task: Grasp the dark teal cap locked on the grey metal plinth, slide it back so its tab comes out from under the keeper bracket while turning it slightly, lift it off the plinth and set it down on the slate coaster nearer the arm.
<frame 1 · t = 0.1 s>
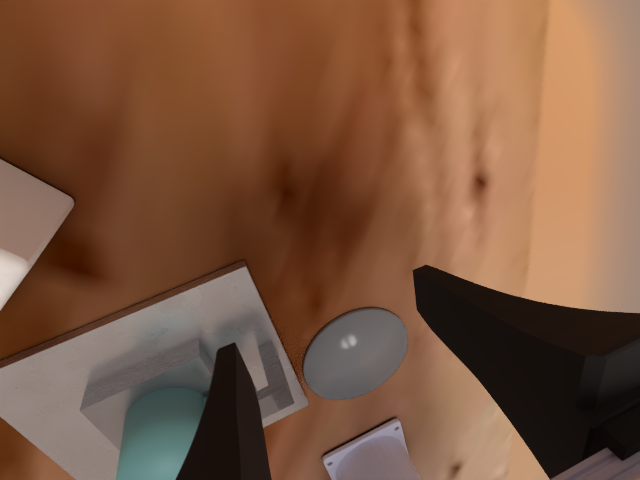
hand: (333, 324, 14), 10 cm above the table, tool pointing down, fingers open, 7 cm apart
coaster: (356, 354, 30), on the table
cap: (169, 418, 23), point 2 cm above the table, touching post base
post base: (170, 387, 25), on the table
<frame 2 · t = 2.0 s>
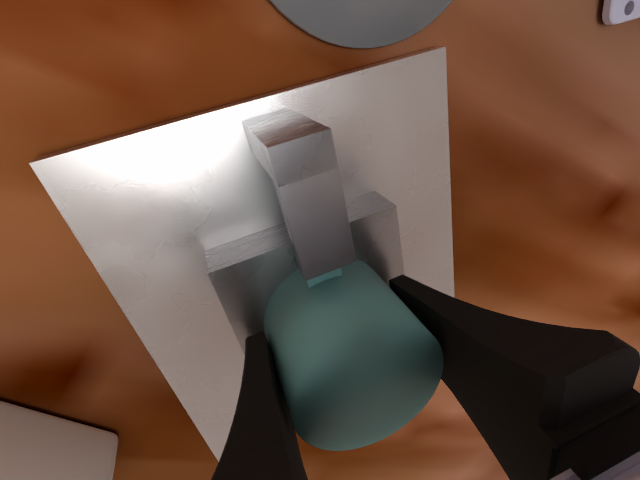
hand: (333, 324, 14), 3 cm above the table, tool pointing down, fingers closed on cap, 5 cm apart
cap: (326, 313, 15), point 3 cm above the table, touching gripper, post base
post base: (308, 280, 17), on the table
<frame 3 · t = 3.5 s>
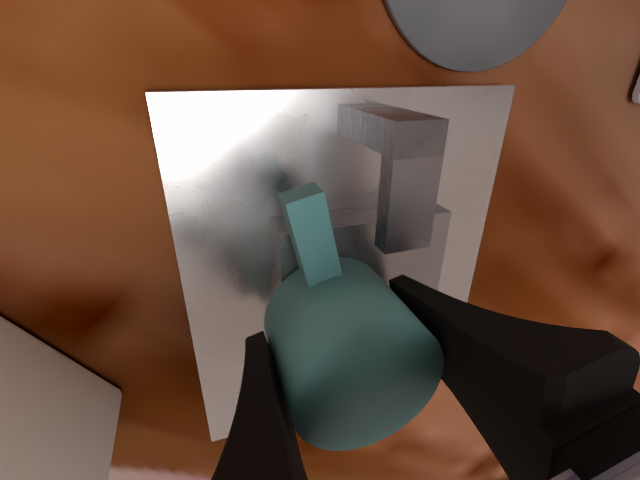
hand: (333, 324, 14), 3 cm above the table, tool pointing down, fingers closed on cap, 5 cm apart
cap: (327, 313, 15), point 3 cm above the table, touching gripper
post base: (343, 270, 17), on the table
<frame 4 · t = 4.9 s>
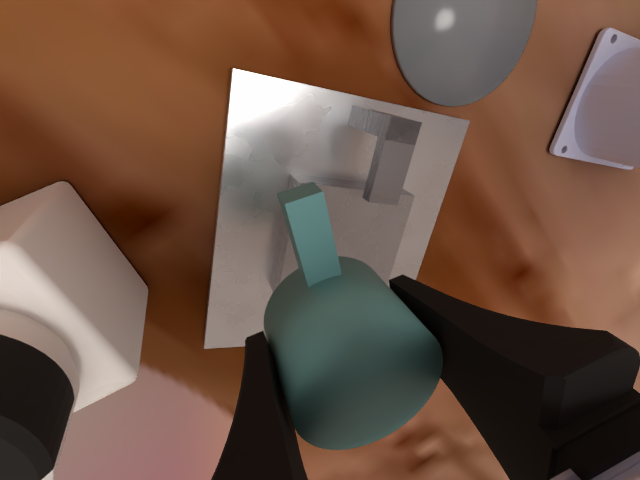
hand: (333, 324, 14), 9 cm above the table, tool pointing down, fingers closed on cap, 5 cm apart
coaster: (464, 18, 20), on the table
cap: (326, 312, 15), point 9 cm above the table, touching gripper
medicine bottle: (46, 266, 19), on the table
post base: (330, 231, 23), on the table
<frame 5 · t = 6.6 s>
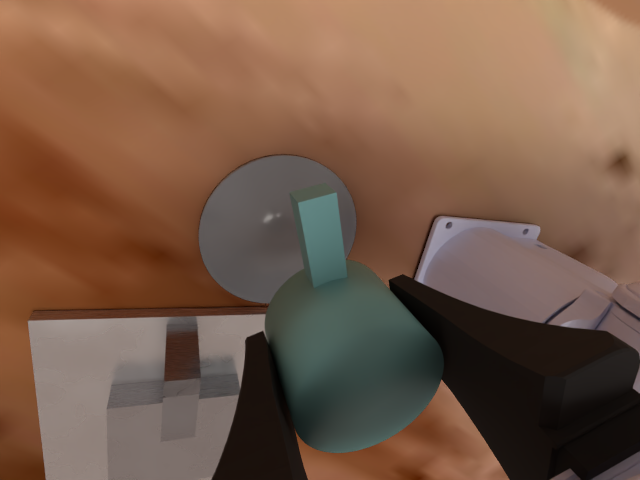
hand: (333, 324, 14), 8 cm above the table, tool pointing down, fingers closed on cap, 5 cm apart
coaster: (281, 233, 21), on the table
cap: (327, 315, 15), point 8 cm above the table, touching gripper
post base: (175, 410, 24), on the table
when the fingers open (3 cm above the table, at t = 8.1 s): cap drops 2 cm, resting on coaster.
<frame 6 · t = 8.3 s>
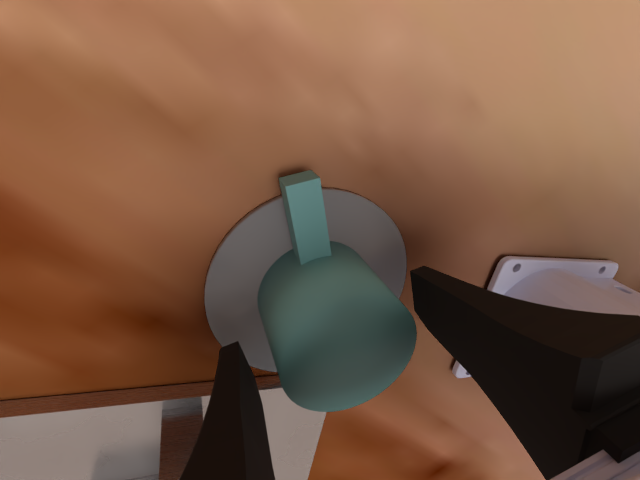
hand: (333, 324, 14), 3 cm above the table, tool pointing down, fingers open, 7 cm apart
coaster: (311, 286, 16), on the table
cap: (315, 293, 16), resting on coaster
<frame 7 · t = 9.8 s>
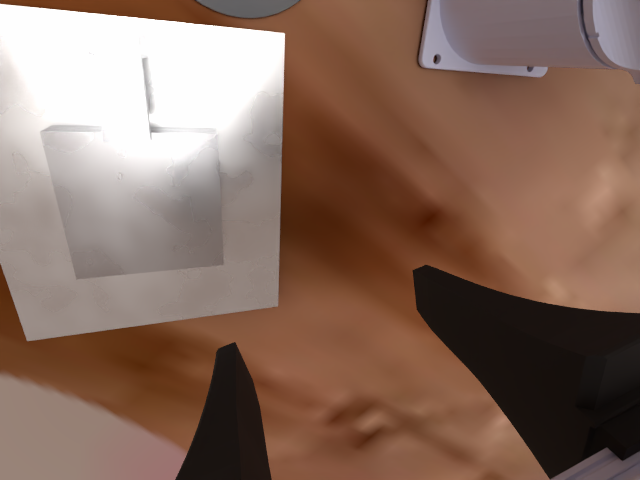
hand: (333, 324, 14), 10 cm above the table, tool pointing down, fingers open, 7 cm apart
post base: (149, 191, 20), on the table
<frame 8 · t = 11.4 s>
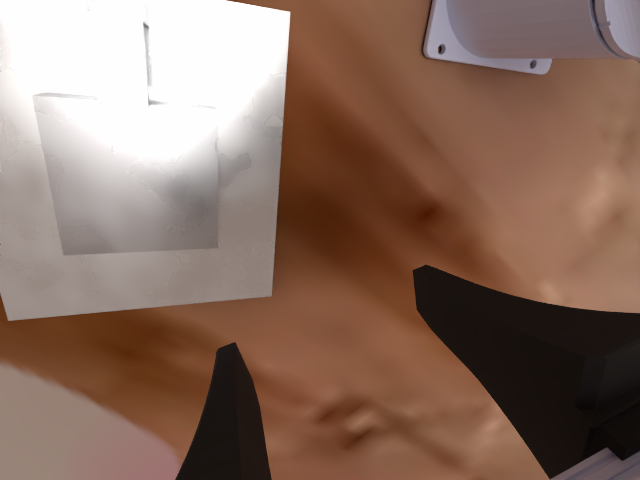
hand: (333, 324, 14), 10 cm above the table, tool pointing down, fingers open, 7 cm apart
post base: (143, 169, 19), on the table
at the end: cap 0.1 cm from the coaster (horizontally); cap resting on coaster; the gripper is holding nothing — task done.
